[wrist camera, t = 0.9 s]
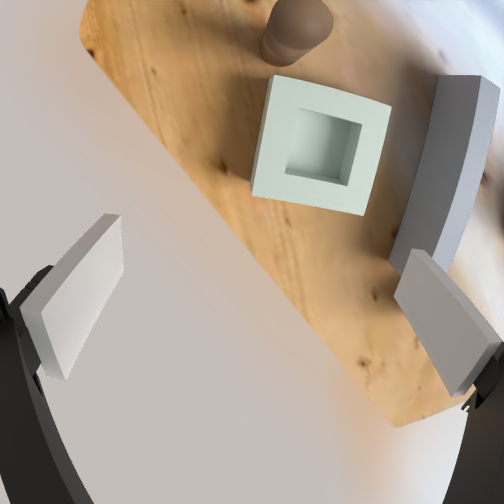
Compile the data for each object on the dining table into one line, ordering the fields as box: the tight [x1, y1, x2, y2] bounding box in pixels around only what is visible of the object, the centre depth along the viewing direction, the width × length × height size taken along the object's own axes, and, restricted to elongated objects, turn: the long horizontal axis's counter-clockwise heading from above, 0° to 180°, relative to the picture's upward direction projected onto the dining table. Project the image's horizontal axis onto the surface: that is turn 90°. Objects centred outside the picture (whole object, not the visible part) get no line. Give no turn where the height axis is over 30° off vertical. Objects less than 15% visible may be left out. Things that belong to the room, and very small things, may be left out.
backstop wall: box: [388, 75, 500, 277], centre depth 29 cm, size 24×3×8 cm, turn 170°
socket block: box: [250, 75, 392, 216], centre depth 28 cm, size 11×11×5 cm
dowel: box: [260, 0, 333, 67], centre depth 21 cm, size 4×4×12 cm
